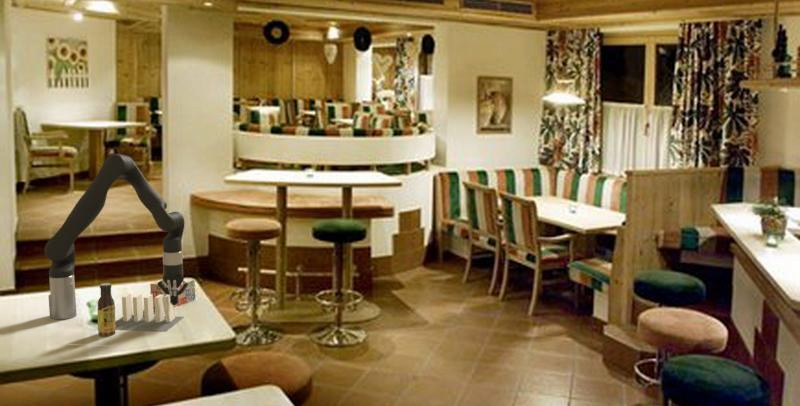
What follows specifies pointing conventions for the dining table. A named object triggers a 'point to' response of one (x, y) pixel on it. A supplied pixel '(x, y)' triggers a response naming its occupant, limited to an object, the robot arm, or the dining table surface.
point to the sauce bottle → (106, 312)
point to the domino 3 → (148, 307)
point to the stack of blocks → (182, 298)
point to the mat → (146, 324)
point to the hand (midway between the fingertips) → (174, 304)
